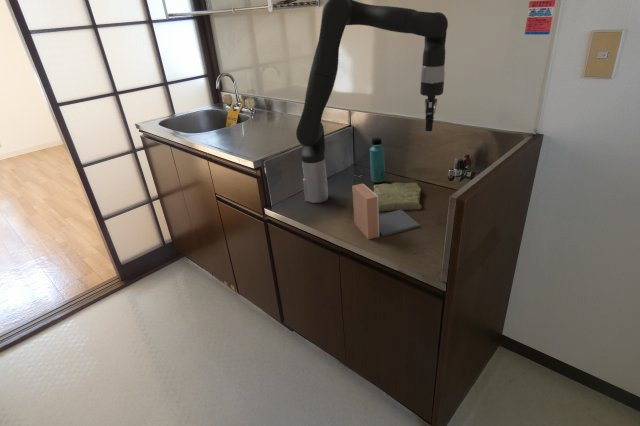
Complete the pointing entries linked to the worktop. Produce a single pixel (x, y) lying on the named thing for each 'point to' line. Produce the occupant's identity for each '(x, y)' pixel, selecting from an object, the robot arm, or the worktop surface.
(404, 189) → the decorative tile
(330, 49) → the robot arm
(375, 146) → the beverage bottle
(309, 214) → the worktop surface
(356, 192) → the terracotta tile
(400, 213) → the mat
